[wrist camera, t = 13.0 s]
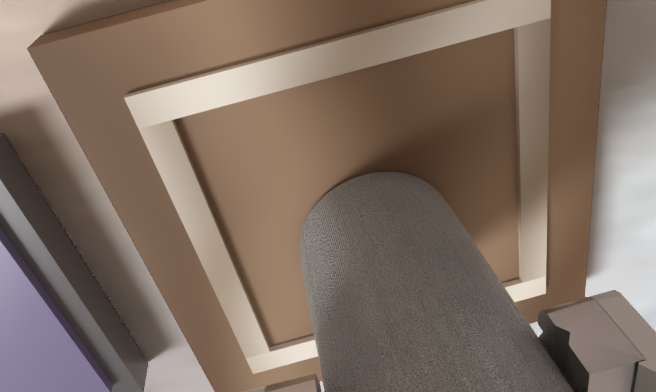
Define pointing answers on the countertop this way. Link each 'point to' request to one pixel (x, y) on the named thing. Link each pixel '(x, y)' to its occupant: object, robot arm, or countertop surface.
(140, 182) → the marked board
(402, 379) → the planter
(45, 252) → the ink pad
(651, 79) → the countertop surface
